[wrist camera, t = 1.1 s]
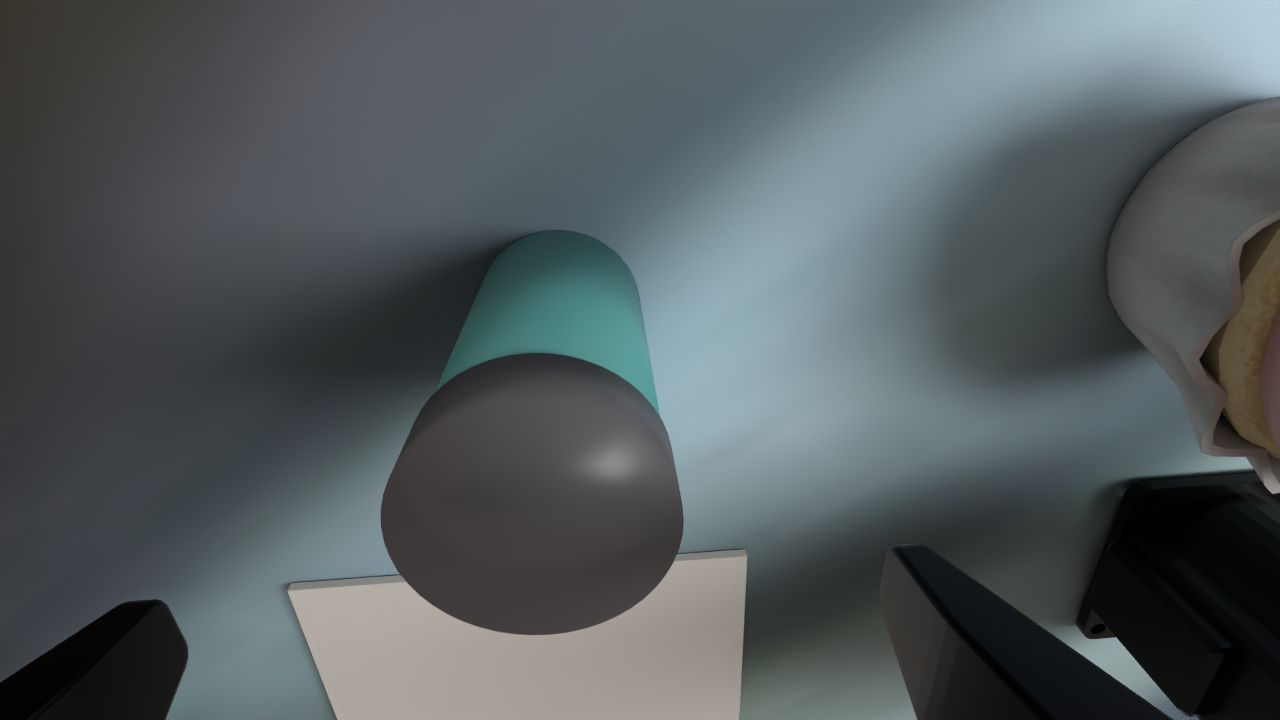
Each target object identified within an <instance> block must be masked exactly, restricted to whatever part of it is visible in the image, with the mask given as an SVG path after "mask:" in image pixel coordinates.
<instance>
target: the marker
mask: <svg viewBox="0 0 1280 720" xmlns="http://www.w3.org/2000/svg"><path fill="white" fill-rule="evenodd" d="M683 520H684V519H683V509H682V501H681V496H680V491H679V485H678V480H677V474H676V469H675V464H674V458H673V453H672V448H671V444H670V440H669V436H668V433H667V431H666V428H665V426H664V424H663V421H662V419H661V418H660V415H659V409H658V403H657V397H656V391H655V385H654V380H653V374H652V368H651V362H650V356H649V350H648V345H647V339H646V333H645V327H644V321H643V315H642V310H641V304H640V298H639V293H638V289H637V285H636V282H635V280H634V277H633V275H632V273H631V271H630V270H629V268H628V266H627V265H626V264H625V262H624V261H623V260H622V258H621V257H620V256H619V255H618V254H617V253H616V252H615V251H613V250H612V249H611V248H609V247H608V246H607V245H606V244H604V243H602V242H600V241H599V240H597V239H595V238H592V237H590V236H588V235H585V234H581V233H577V232H573V231H565V230H551V231H542V232H538V233H534V234H531V235H528V236H526V237H523V238H521V239H519V240H517V241H516V242H514V243H512V244H511V245H510V246H508V247H507V248H506V249H504V250H503V251H502V252H501V253H500V254H499V255H498V256H497V257H496V259H495V260H494V261H493V263H492V264H491V266H490V267H489V269H488V271H487V273H486V275H485V277H484V280H483V282H482V284H481V287H480V289H479V291H478V294H477V296H476V298H475V300H474V303H473V305H472V307H471V310H470V312H469V314H468V317H467V319H466V321H465V324H464V326H463V328H462V331H461V333H460V335H459V337H458V340H457V342H456V344H455V347H454V349H453V351H452V354H451V356H450V358H449V361H448V363H447V365H446V367H445V370H444V372H443V374H442V377H441V379H440V381H439V384H438V386H437V388H436V391H435V393H434V394H433V395H432V396H431V397H430V399H429V400H428V401H427V403H426V404H425V405H424V406H423V408H422V409H421V411H420V413H419V415H418V416H417V418H416V420H415V422H414V424H413V426H412V429H411V431H410V433H409V435H408V437H407V440H406V442H405V444H404V446H403V449H402V451H401V453H400V455H399V457H398V460H397V462H396V464H395V466H394V468H393V471H392V473H391V475H390V477H389V480H388V482H387V485H386V488H385V491H384V494H383V500H382V506H381V528H382V533H383V538H384V543H385V545H386V548H387V551H388V553H389V556H390V558H391V560H392V561H393V563H394V565H395V567H396V569H397V570H398V572H399V573H400V574H401V576H402V577H403V578H404V579H405V581H406V582H407V583H408V584H409V585H410V586H411V587H412V588H413V589H414V590H415V591H416V592H417V593H418V594H419V595H420V596H421V597H423V598H424V599H425V600H426V601H428V602H429V603H430V604H432V605H433V606H435V607H436V608H438V609H440V610H441V611H443V612H445V613H446V614H448V615H450V616H452V617H454V618H457V619H459V620H461V621H463V622H466V623H469V624H471V625H474V626H477V627H480V628H484V629H488V630H492V631H496V632H503V633H509V634H518V635H552V634H560V633H568V632H572V631H577V630H581V629H585V628H589V627H592V626H595V625H598V624H601V623H603V622H605V621H608V620H610V619H612V618H615V617H617V616H619V615H620V614H622V613H624V612H625V611H627V610H629V609H631V608H632V607H633V606H635V605H636V604H638V603H639V602H640V601H642V600H643V599H644V598H645V597H646V596H647V595H649V594H650V593H651V592H652V591H653V590H654V589H655V588H656V587H657V585H658V584H659V583H660V582H661V581H662V579H663V578H664V577H665V576H666V574H667V572H668V571H669V569H670V567H671V566H672V564H673V562H674V560H675V557H676V555H677V553H678V550H679V547H680V543H681V539H682V534H683Z"/></svg>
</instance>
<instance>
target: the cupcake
mask: <svg viewBox="0 0 1280 720" xmlns="http://www.w3.org/2000/svg"><path fill="white" fill-rule="evenodd" d="M1106 277H1107V288H1108V293H1109V296H1110V299H1111V301H1112V304H1113V306H1114V308H1115V310H1116V312H1117V314H1118V316H1119V317H1120V319H1121V321H1122V322H1123V323H1124V324H1125V325H1126V327H1127V328H1128V329H1129V330H1130V331H1131V332H1132V333H1133V334H1134V335H1135V336H1136V337H1137V338H1138V339H1139V341H1140V342H1141V343H1142V344H1143V345H1144V346H1145V347H1146V348H1147V349H1148V350H1149V351H1150V353H1151V354H1152V355H1153V356H1154V358H1155V359H1156V360H1157V361H1158V362H1159V364H1160V365H1161V366H1162V367H1163V369H1164V370H1165V371H1166V372H1167V374H1168V375H1169V376H1170V377H1171V379H1172V380H1173V381H1174V382H1175V384H1176V385H1177V386H1178V388H1179V391H1180V394H1181V397H1182V399H1183V402H1184V405H1185V408H1186V410H1187V413H1188V416H1189V419H1190V421H1191V424H1192V427H1193V430H1194V433H1195V435H1196V438H1197V441H1198V444H1199V446H1200V449H1201V452H1203V453H1206V454H1209V455H1212V456H1232V457H1246V458H1247V459H1248V461H1249V462H1250V464H1251V465H1252V467H1253V468H1254V470H1255V471H1256V473H1257V474H1258V476H1259V478H1260V479H1261V481H1262V482H1263V484H1264V485H1265V487H1266V488H1267V489H1268V490H1269V491H1270V492H1271V493H1272V494H1275V493H1280V97H1275V98H1270V99H1266V100H1261V101H1258V102H1255V103H1252V104H1249V105H1247V106H1244V107H1241V108H1239V109H1236V110H1234V111H1232V112H1229V113H1227V114H1224V115H1222V116H1220V117H1217V118H1215V119H1213V120H1211V121H1209V122H1207V123H1206V124H1204V125H1203V126H1201V127H1200V128H1198V129H1197V130H1195V131H1194V132H1192V133H1191V134H1190V135H1188V136H1187V137H1185V138H1184V139H1183V140H1181V141H1180V142H1179V143H1177V144H1176V145H1175V146H1174V147H1173V148H1172V149H1170V150H1169V151H1168V152H1167V153H1166V154H1165V155H1164V156H1163V157H1162V158H1161V159H1160V160H1158V161H1157V162H1156V163H1155V164H1154V165H1153V166H1152V167H1151V168H1150V169H1149V170H1148V171H1147V173H1146V174H1145V175H1144V177H1143V178H1142V180H1141V181H1140V182H1139V184H1138V185H1137V187H1136V188H1135V189H1134V191H1133V193H1132V194H1131V196H1130V197H1129V199H1128V200H1127V202H1126V204H1125V206H1124V208H1123V210H1122V211H1121V213H1120V215H1119V217H1118V220H1117V222H1116V224H1115V226H1114V229H1113V231H1112V233H1111V237H1110V242H1109V247H1108V253H1107V261H1106Z"/></svg>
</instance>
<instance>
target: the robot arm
mask: <svg viewBox="0 0 1280 720" xmlns="http://www.w3.org/2000/svg"><path fill="white" fill-rule="evenodd" d="M880 605H881V610H882V613H883V616H884V619H885V622H886V625H887V628H888V631H889V635H890V638H891V641H892V644H893V647H894V650H895V653H896V656H897V659H898V662H899V665H900V668H901V671H902V674H903V677H904V681H905V684H906V687H907V690H908V693H909V696H910V699H911V702H912V705H913V708H914V711H915V714H916V717H917V720H1173V719H1171V718H1170V717H1169V716H1167V715H1166V714H1164V713H1163V712H1162V711H1160V710H1159V709H1157V708H1156V707H1154V706H1153V705H1152V704H1150V703H1149V702H1147V701H1146V700H1144V699H1143V698H1142V697H1140V696H1139V695H1137V694H1136V693H1135V692H1133V691H1132V690H1130V689H1129V688H1127V687H1126V686H1125V685H1123V684H1122V683H1120V682H1119V681H1118V680H1116V679H1115V678H1113V677H1112V676H1110V675H1109V674H1108V673H1106V672H1105V671H1103V670H1102V669H1100V668H1099V667H1098V666H1096V665H1095V664H1093V663H1092V662H1091V661H1089V660H1088V659H1086V658H1085V657H1083V656H1082V655H1081V654H1079V653H1078V652H1076V651H1075V650H1074V649H1072V648H1071V647H1069V646H1068V645H1066V644H1065V643H1064V642H1062V641H1061V640H1059V639H1058V638H1056V637H1055V636H1054V635H1052V634H1051V633H1049V632H1048V631H1047V630H1045V629H1044V628H1042V627H1041V626H1039V625H1038V624H1037V623H1035V622H1034V621H1032V620H1031V619H1030V618H1028V617H1027V616H1025V615H1024V614H1022V613H1021V612H1020V611H1018V610H1017V609H1015V608H1014V607H1012V606H1011V605H1010V604H1008V603H1007V602H1005V601H1004V600H1003V599H1001V598H1000V597H998V596H997V595H995V594H994V593H993V592H991V591H990V590H988V589H987V588H986V587H984V586H983V585H981V584H980V583H978V582H977V581H976V580H974V579H973V578H971V577H970V576H968V575H967V574H966V573H964V572H963V571H961V570H960V569H959V568H957V567H956V566H954V565H953V564H951V563H950V562H949V561H947V560H946V559H944V558H943V557H942V556H940V555H939V554H937V553H936V552H934V551H933V550H932V549H930V548H929V547H927V546H925V545H923V544H919V543H914V544H900V545H893V546H891V547H890V548H889V549H888V551H887V553H886V558H885V564H884V569H883V575H882V581H881V587H880ZM1076 625H1077V627H1078V628H1079V629H1080V631H1081V632H1082V633H1083V634H1084V636H1085V637H1087V638H1089V639H1100V638H1112V637H1117V639H1118V640H1119V641H1120V642H1121V643H1122V644H1123V646H1124V647H1125V648H1126V649H1127V650H1128V651H1129V653H1130V654H1131V655H1132V656H1133V657H1134V658H1135V660H1136V661H1137V662H1138V663H1139V664H1140V665H1141V667H1142V668H1143V669H1144V670H1145V671H1146V672H1147V674H1148V675H1149V676H1150V677H1151V678H1152V679H1153V681H1154V682H1155V683H1156V684H1157V685H1158V686H1159V688H1160V689H1161V690H1162V691H1163V692H1164V693H1165V695H1166V696H1167V697H1168V698H1169V699H1170V700H1171V702H1172V703H1173V704H1174V705H1175V706H1176V707H1177V708H1178V709H1179V710H1180V711H1181V712H1182V713H1183V714H1185V715H1186V716H1189V717H1194V716H1197V717H1198V718H1199V720H1280V493H1275V494H1272V493H1271V492H1270V491H1269V490H1268V489H1267V488H1266V487H1265V485H1264V484H1263V482H1262V481H1261V479H1260V478H1259V476H1258V474H1257V473H1246V474H1232V475H1219V476H1205V477H1191V478H1177V479H1164V480H1150V481H1142V482H1138V483H1136V484H1134V485H1132V486H1131V487H1130V488H1128V489H1127V491H1126V492H1125V494H1124V496H1123V498H1122V501H1121V504H1120V506H1119V509H1118V512H1117V514H1116V517H1115V520H1114V522H1113V525H1112V528H1111V530H1110V533H1109V536H1108V538H1107V541H1106V543H1105V546H1104V549H1103V551H1102V554H1101V557H1100V559H1099V562H1098V565H1097V567H1096V570H1095V573H1094V575H1093V578H1092V581H1091V583H1090V586H1089V589H1088V591H1087V594H1086V597H1085V599H1084V602H1083V604H1082V607H1081V610H1080V612H1079V615H1078V618H1077V620H1076ZM187 660H188V645H187V642H186V640H185V638H184V636H183V634H182V632H181V630H180V628H179V626H178V625H177V623H176V621H175V619H174V617H173V615H172V613H171V611H170V609H169V607H168V606H167V604H166V603H164V602H163V601H161V600H156V599H155V600H141V601H129V602H125V603H122V604H120V605H118V606H116V607H115V608H113V609H112V610H110V611H109V612H107V613H106V614H104V615H103V616H101V617H100V618H98V619H96V620H95V621H93V622H92V623H90V624H89V625H87V626H86V627H84V628H83V629H81V630H80V631H78V632H77V633H75V634H74V635H72V636H71V637H69V638H68V639H66V640H65V641H63V642H61V643H60V644H58V645H57V646H55V647H54V648H52V649H51V650H49V651H48V652H46V653H45V654H43V655H42V656H40V657H39V658H37V659H36V660H34V661H33V662H31V663H29V664H28V665H26V666H25V667H23V668H22V669H20V670H19V671H17V672H16V673H14V674H13V675H11V676H10V677H8V678H7V679H5V680H4V681H2V682H1V683H0V720H166V717H167V715H168V712H169V710H170V707H171V704H172V702H173V699H174V697H175V694H176V691H177V689H178V686H179V684H180V681H181V678H182V676H183V673H184V671H185V668H186V665H187Z"/></svg>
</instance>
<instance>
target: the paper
mask: <svg viewBox="0 0 1280 720" xmlns="http://www.w3.org/2000/svg"><path fill="white" fill-rule="evenodd" d="M746 573H747V553H746V550H745V549H741V550H728V551H714V552H701V553H688V554H677V555H676V557H675V560H674V562H673V564H672V566H671V567H670V569H669V571H668V572H667V574H666V576H665V577H664V578H663V579H662V581H661V582H660V583H659V584H658V585H657V587H656V588H655V589H654V590H653V591H652V592H651V593H650V594H649V595H647V596H646V597H645V598H644V599H643V600H642V601H640V602H639V603H638V604H636V605H635V606H633V607H632V608H631V609H629V610H627V611H625V612H624V613H622V614H620V615H619V616H617V617H615V618H612V619H610V620H608V621H605V622H603V623H601V624H598V625H595V626H592V627H589V628H585V629H581V630H577V631H572V632H568V633H560V634H552V635H518V634H509V633H503V632H496V631H492V630H488V629H484V628H480V627H477V626H474V625H471V624H469V623H466V622H463V621H461V620H459V619H457V618H454V617H452V616H450V615H448V614H446V613H445V612H443V611H441V610H440V609H438V608H436V607H435V606H433V605H432V604H430V603H429V602H428V601H426V600H425V599H424V598H423V597H421V596H420V595H419V594H418V593H417V592H416V591H415V590H414V589H413V588H412V587H411V586H410V585H409V584H408V583H407V582H406V581H405V579H404V578H403V577H402V576H401V575H395V576H381V577H368V578H355V579H341V580H328V581H315V582H301V583H291V585H290V587H289V588H288V590H287V591H288V594H289V597H290V599H291V602H292V604H293V607H294V609H295V612H296V615H297V617H298V620H299V622H300V625H301V627H302V630H303V633H304V635H305V638H306V640H307V643H308V645H309V648H310V651H311V653H312V656H313V658H314V661H315V663H316V666H317V669H318V671H319V674H320V676H321V679H322V681H323V684H324V686H325V689H326V692H327V694H328V697H329V699H330V702H331V704H332V707H333V710H334V712H335V715H336V717H337V720H739V714H740V694H741V674H742V654H743V634H744V613H745V593H746Z"/></svg>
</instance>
